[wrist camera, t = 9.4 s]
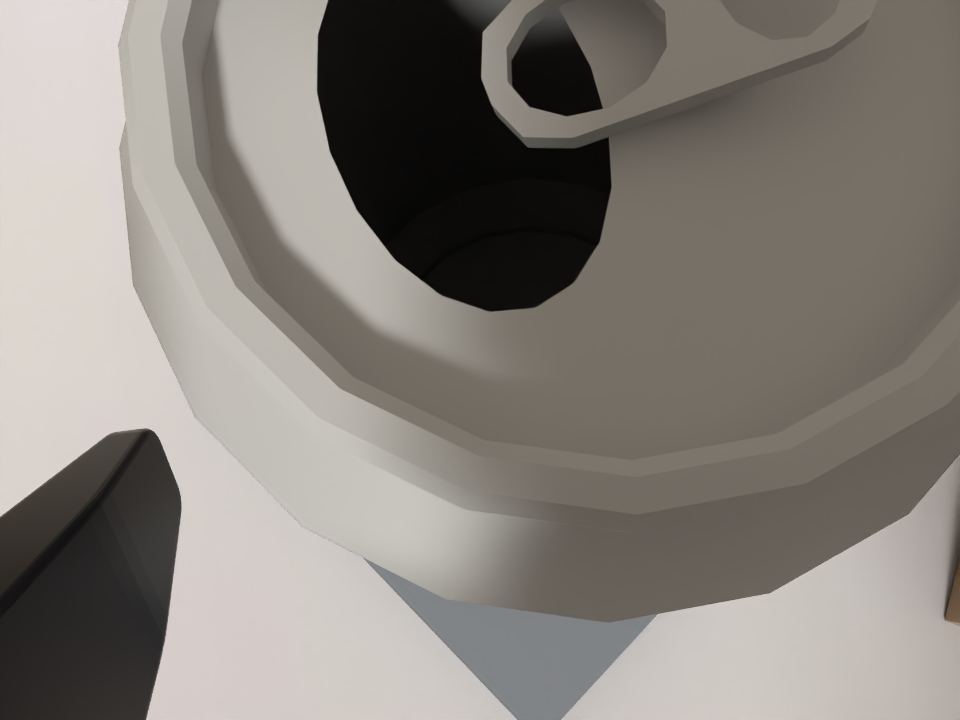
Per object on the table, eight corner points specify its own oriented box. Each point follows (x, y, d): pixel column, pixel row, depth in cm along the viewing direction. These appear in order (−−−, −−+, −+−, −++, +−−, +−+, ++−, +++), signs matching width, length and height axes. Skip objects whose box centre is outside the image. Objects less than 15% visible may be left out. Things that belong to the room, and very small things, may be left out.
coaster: (538, 735, 16) (539, 742, 15) (191, 372, 18) (180, 366, 17) (877, 365, 17) (890, 360, 17) (525, 57, 19) (526, 42, 18)
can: (298, 263, 17) (-115, -300, 6) (639, 148, 18) (919, -605, 6) (412, 622, 16) (176, 872, 4) (782, 489, 16) (1519, 378, 5)
